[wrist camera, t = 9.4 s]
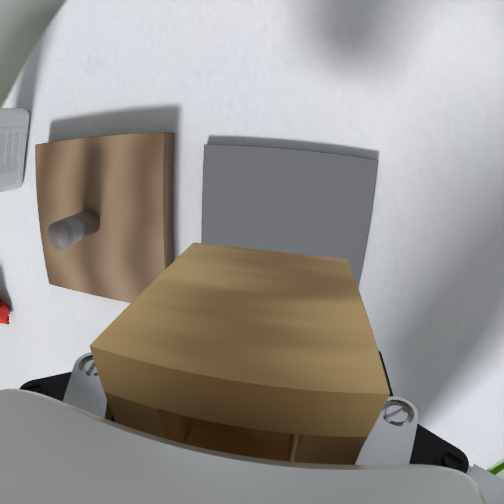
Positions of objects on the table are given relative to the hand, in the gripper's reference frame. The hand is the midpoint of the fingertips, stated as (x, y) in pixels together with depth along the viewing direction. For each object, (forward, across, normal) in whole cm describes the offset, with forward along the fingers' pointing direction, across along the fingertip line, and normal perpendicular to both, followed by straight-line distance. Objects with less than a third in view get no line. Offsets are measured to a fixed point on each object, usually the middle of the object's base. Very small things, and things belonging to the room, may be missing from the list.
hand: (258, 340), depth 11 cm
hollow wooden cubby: (+2, 0, 0) cm, 2 cm away
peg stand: (+16, +18, 0) cm, 24 cm away
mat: (+16, 0, 0) cm, 16 cm away
